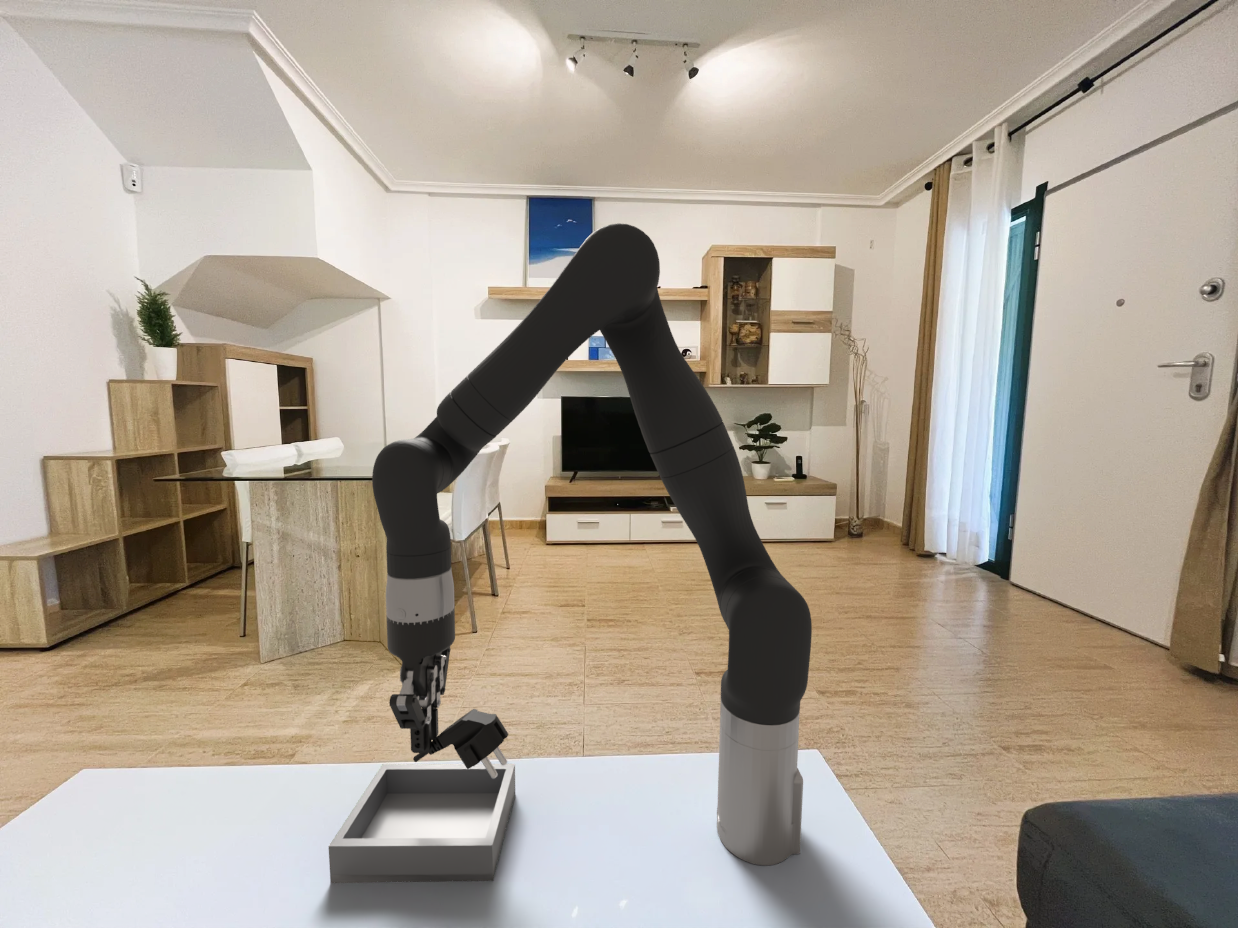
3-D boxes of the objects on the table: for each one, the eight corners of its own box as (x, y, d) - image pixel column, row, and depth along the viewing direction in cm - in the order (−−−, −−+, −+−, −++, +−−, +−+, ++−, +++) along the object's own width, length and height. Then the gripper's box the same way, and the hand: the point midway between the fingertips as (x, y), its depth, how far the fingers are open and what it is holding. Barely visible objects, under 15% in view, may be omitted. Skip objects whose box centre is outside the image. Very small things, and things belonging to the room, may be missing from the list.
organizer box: (515, 794, 69) (514, 763, 69) (493, 882, 56) (492, 845, 56) (383, 794, 69) (382, 763, 68) (330, 883, 56) (328, 846, 55)
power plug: (425, 740, 65) (494, 692, 62) (457, 792, 64) (528, 745, 61) (396, 766, 59) (471, 714, 57) (431, 824, 58) (508, 773, 56)
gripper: (432, 632, 53) (436, 786, 54) (469, 587, 66) (471, 711, 68) (360, 632, 53) (366, 786, 54) (412, 586, 66) (416, 710, 68)
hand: (425, 743), depth 61 cm, fingers closed on power plug, 2 cm apart
